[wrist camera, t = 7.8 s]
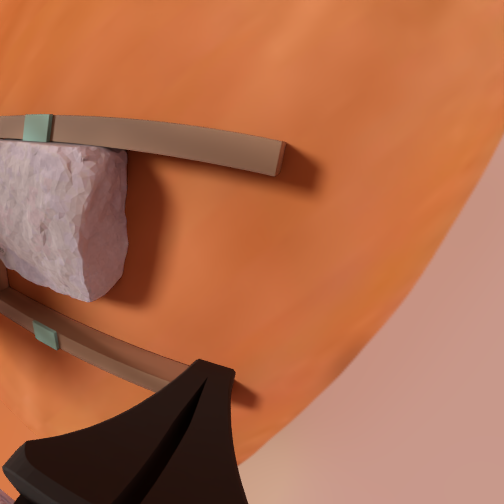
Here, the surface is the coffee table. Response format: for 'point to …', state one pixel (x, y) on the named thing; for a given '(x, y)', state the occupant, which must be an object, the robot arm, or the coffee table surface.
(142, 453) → the robot arm
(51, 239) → the stone block
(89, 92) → the coffee table surface
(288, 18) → the coffee table surface
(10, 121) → the channel
